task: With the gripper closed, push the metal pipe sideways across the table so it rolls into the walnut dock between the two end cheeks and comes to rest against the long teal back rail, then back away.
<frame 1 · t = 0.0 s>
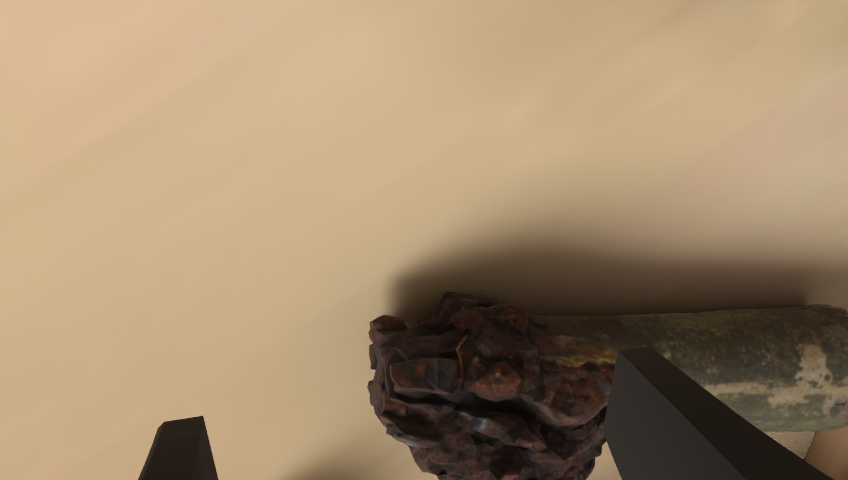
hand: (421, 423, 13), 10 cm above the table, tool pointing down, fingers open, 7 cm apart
metal pipe: (585, 340, 28), on the table
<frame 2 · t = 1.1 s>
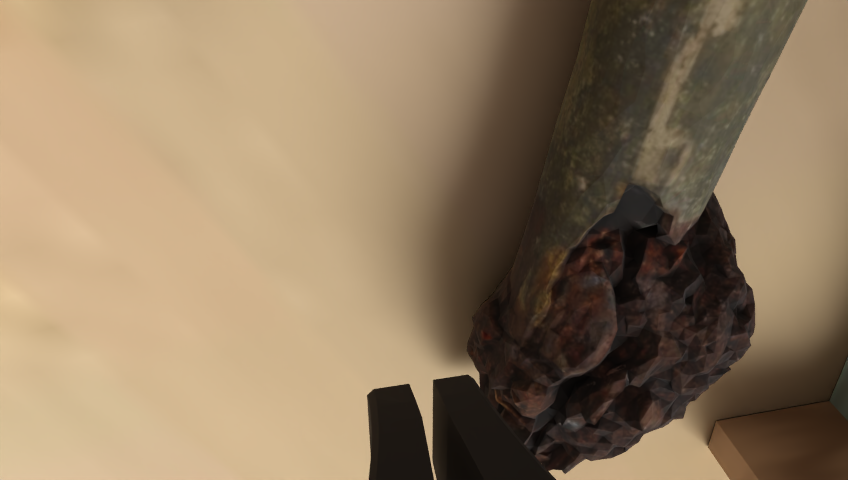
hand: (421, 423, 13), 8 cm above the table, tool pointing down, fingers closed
metal pipe: (604, 145, 21), on the table
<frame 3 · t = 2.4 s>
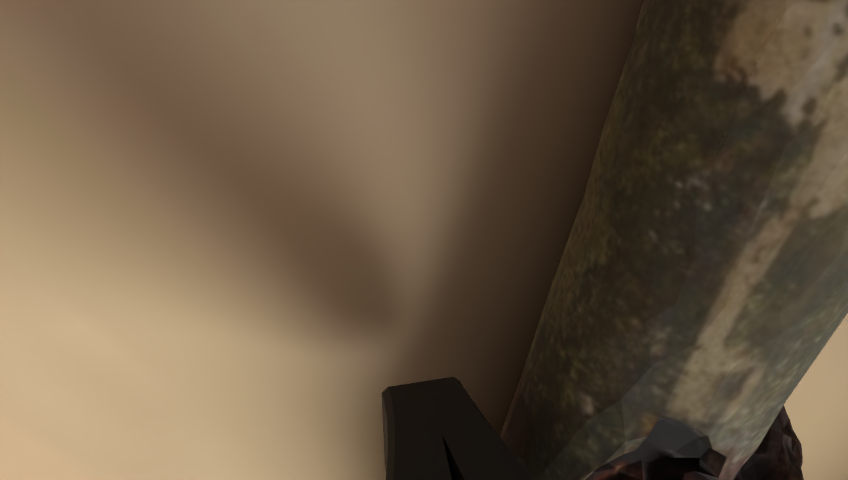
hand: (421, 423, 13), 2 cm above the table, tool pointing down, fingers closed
metal pipe: (616, 294, 15), on the table, touching gripper
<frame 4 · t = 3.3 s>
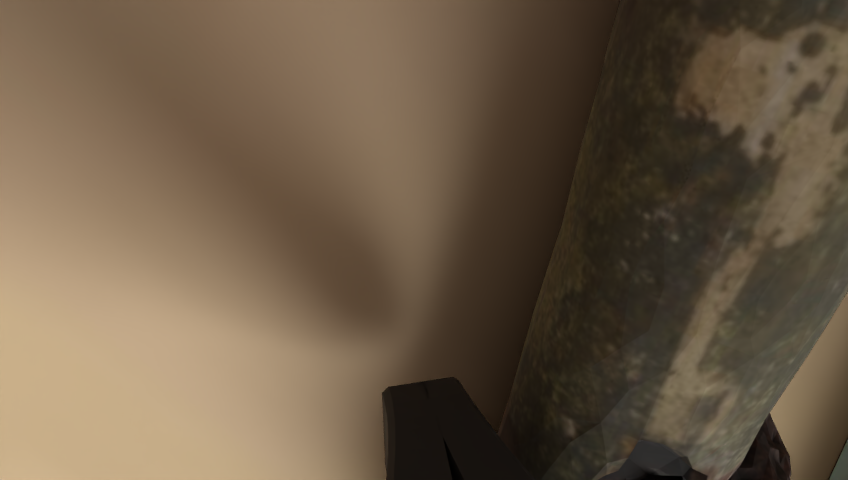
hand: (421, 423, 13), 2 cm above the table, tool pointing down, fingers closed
metal pipe: (604, 310, 15), on the table, touching gripper
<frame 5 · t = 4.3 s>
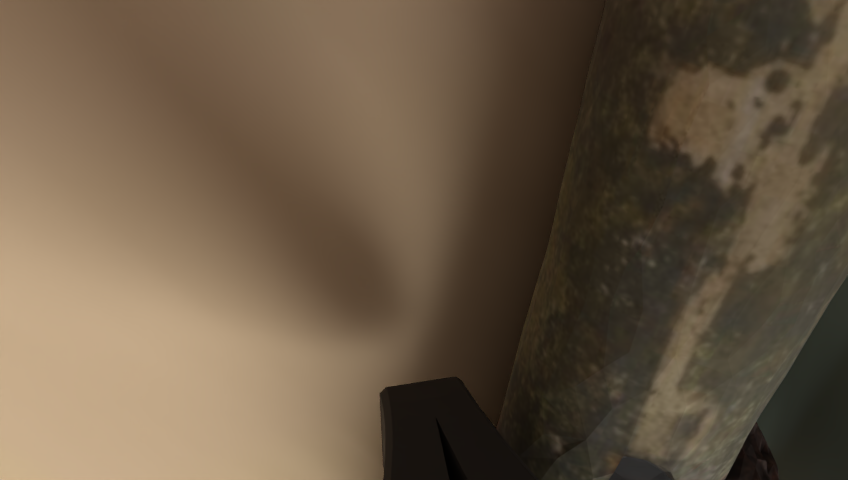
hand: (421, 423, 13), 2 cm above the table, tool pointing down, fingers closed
metal pipe: (596, 324, 16), on the table, touching gripper
dock: (812, 289, 16), on the table
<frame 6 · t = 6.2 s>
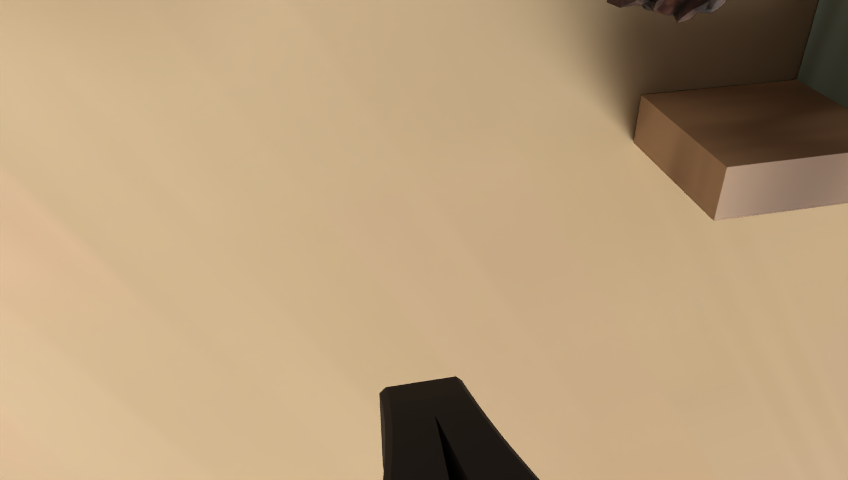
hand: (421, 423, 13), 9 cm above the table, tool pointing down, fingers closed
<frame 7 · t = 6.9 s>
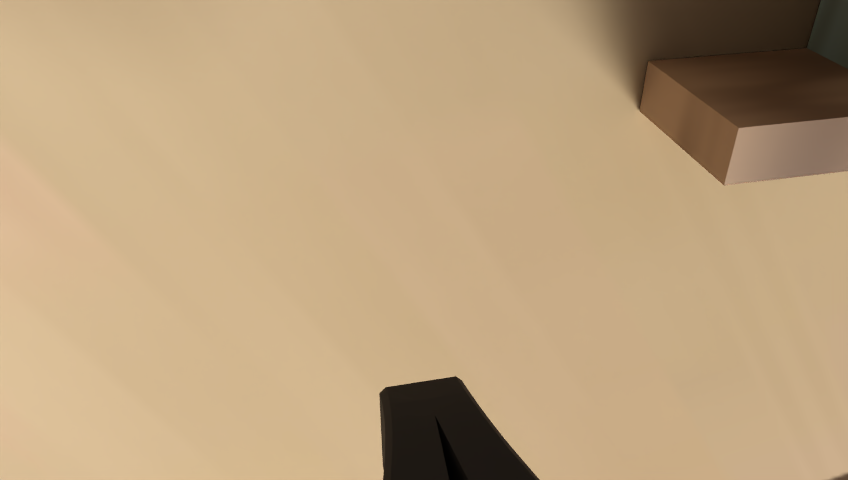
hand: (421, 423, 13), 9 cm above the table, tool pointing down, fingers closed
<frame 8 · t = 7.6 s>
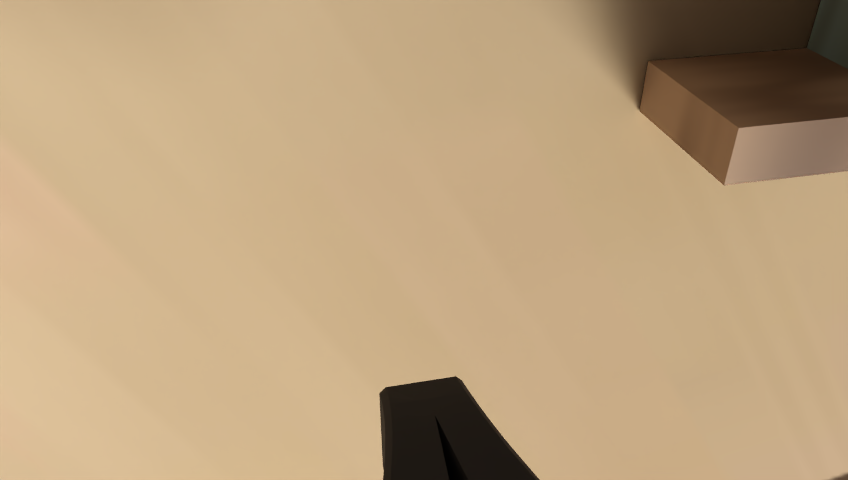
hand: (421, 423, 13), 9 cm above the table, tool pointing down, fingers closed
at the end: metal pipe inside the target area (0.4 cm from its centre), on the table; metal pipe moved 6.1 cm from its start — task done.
